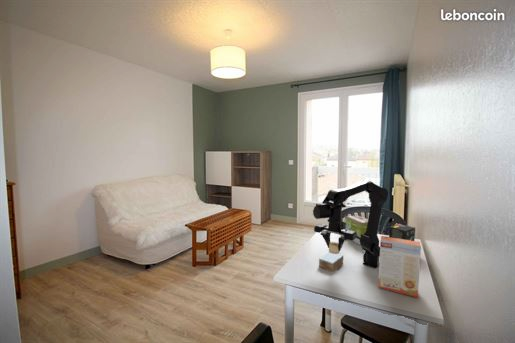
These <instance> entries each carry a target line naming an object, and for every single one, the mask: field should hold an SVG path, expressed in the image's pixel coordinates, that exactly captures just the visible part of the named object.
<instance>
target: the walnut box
mask: <svg viewBox="0 0 515 343" xmlns="http://www.w3.org/2000/svg"><path fill="white" fill-rule="evenodd" d="M343 263H344V256H343V257H342V258H341V259H339V260H338V261H337V262H335V263H334V264H330V263H327V262H325V261H322V260H319V259H318V267H319V268H322V269H324V270H326V271H329V272H334V271H335V270H336V269H338V267H340V266H342V265H343Z"/></svg>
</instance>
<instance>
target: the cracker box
mask: <svg viewBox="0 0 515 343" xmlns="http://www.w3.org/2000/svg"><path fill="white" fill-rule="evenodd" d="M379 247H380V257H379V266H378V288H379V289H382V290H387V291H391V292H396V293H399V294H403V295H407V296H410V297H415V298H418V297H419V283H420V271H421V270H420V267H421V266H420V265H421V251H422V250H421V249H422V246H421V242H420V241H416V240H414V241H410V240H404V239H398V238H391V237H389V236H384V235H382V236H380V241H379Z"/></svg>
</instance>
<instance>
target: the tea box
mask: <svg viewBox="0 0 515 343" xmlns="http://www.w3.org/2000/svg"><path fill="white" fill-rule="evenodd" d="M345 223H346V228H345V229H344V231H345V232H346V231H347V230H351V231H356V233H357V238H355V239H354V240H353V241H352V242H354V243H355V244H357V245H358V246H361V245H360V242H359V241H360V238H361V234H364V233H365V232H366V229H367V224H368V218H365V217H363V216H360V215H358V214H356V215H347V216H345ZM361 247H362V246H361Z"/></svg>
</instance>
